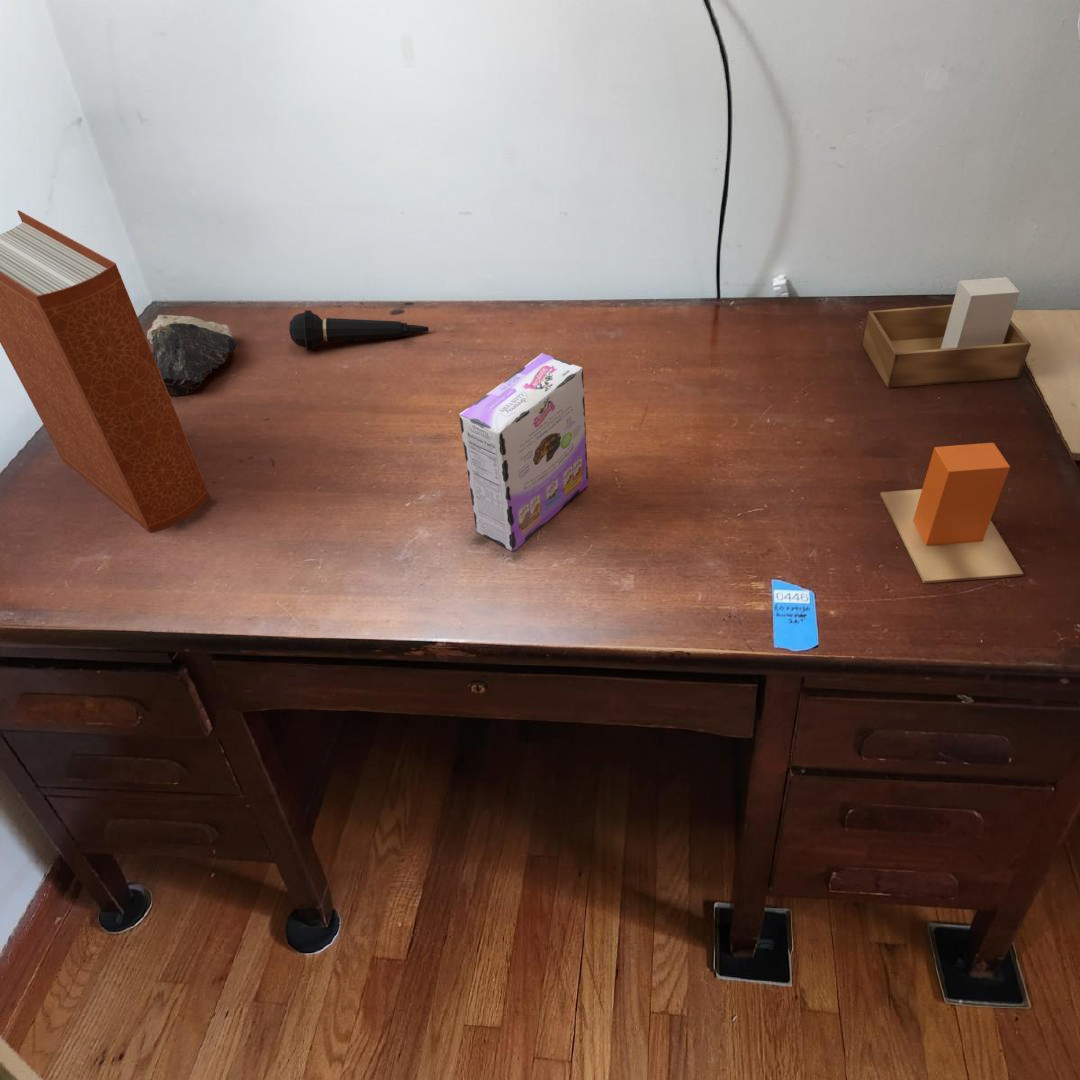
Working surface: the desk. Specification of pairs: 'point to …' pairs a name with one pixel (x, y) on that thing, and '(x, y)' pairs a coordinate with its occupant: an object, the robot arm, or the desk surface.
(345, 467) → the desk surface
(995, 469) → the block
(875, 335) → the wooden box
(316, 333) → the microphone
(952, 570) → the cork mat
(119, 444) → the book
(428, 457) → the desk surface
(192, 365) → the mineral specimen
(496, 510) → the candy box
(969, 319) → the block
